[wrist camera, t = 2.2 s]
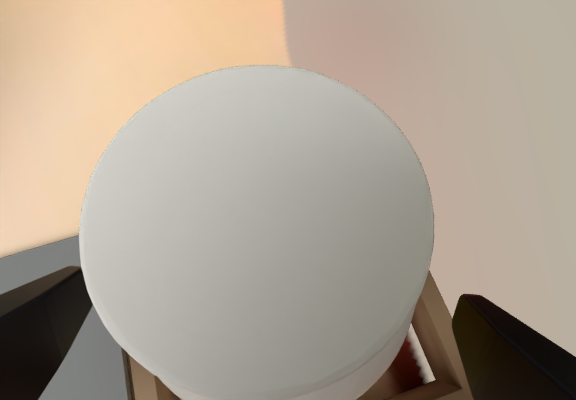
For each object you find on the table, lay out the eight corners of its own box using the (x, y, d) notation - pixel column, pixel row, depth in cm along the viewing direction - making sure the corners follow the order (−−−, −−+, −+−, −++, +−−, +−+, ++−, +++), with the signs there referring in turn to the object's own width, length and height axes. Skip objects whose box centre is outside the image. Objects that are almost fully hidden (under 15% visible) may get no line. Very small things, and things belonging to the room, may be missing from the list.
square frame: (460, 393, 15) (492, 404, 12) (177, 503, 13) (154, 539, 11) (353, 153, 19) (362, 128, 17) (131, 217, 18) (108, 200, 15)
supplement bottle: (372, 272, 17) (583, 124, 5) (308, 405, 15) (399, 732, 3) (258, 209, 18) (199, -35, 6) (184, 323, 16) (-132, 297, 4)
